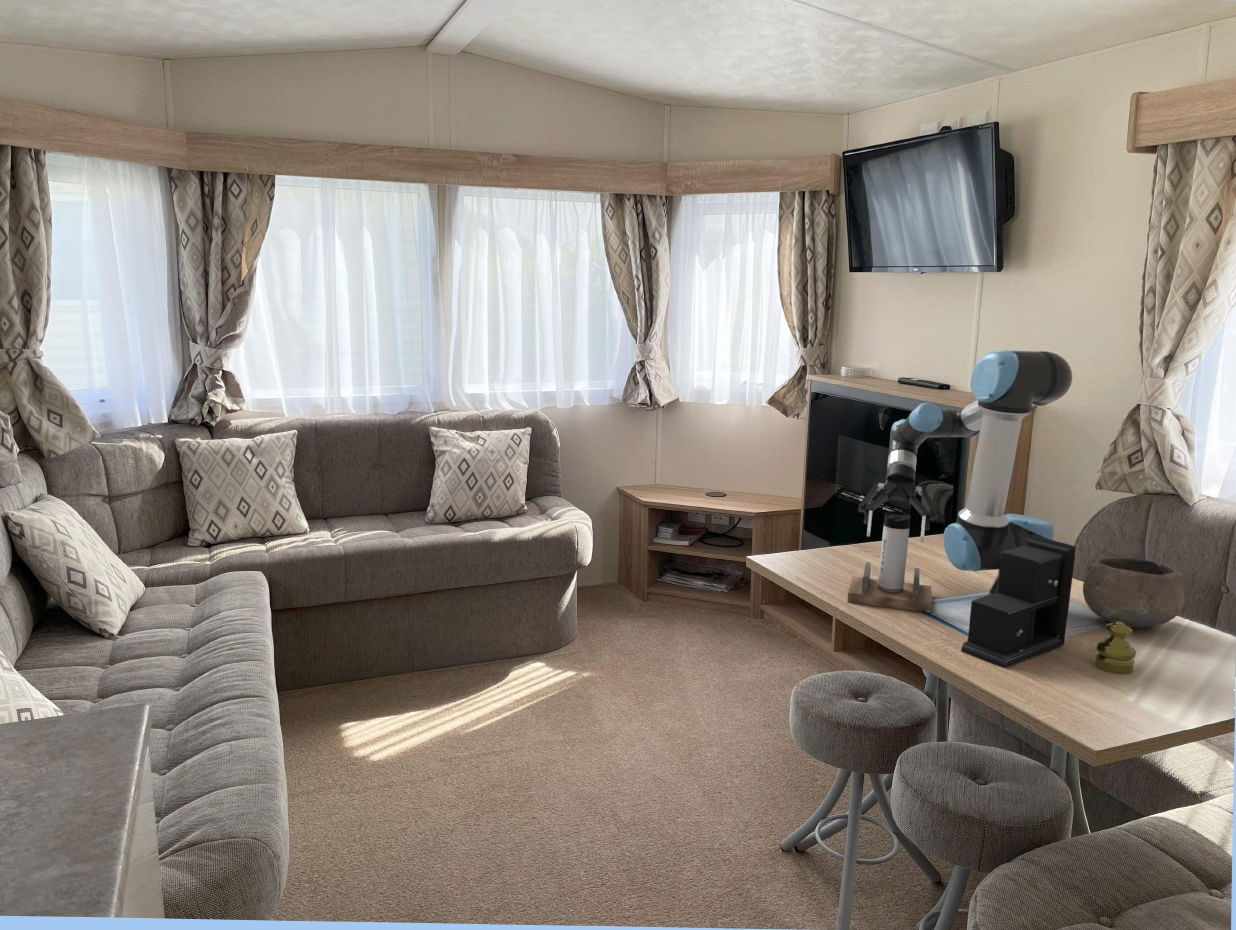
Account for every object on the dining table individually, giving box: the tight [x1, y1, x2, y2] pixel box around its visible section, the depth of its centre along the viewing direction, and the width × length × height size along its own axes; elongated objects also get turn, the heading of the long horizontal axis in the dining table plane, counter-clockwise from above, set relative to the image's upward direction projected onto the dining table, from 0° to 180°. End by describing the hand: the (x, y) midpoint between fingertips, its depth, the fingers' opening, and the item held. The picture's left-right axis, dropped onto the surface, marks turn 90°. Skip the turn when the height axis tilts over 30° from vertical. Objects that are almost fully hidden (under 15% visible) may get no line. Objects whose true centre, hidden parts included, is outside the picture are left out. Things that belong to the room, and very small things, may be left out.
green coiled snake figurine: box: [1094, 621, 1137, 675], centre depth 191 cm, size 7×7×10 cm
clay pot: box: [1082, 556, 1186, 628], centre depth 217 cm, size 21×21×15 cm
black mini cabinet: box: [960, 535, 1077, 669], centre depth 198 cm, size 23×11×24 cm, turn 125°
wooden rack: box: [847, 561, 933, 612], centre depth 231 cm, size 20×14×7 cm
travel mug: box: [877, 509, 911, 593], centre depth 229 cm, size 6×7×20 cm
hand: (895, 536), depth 238 cm, fingers open, 13 cm apart
